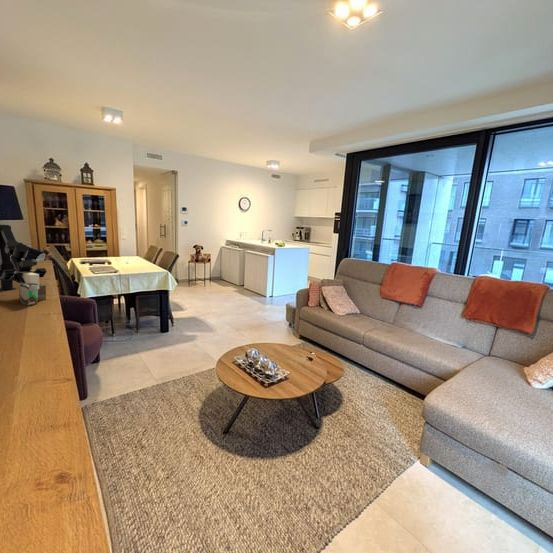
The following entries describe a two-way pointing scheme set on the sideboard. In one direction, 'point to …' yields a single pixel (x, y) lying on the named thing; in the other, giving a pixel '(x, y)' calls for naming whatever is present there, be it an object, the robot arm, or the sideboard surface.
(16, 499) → the sideboard surface
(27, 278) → the white upright block
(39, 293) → the dispenser
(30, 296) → the food container
